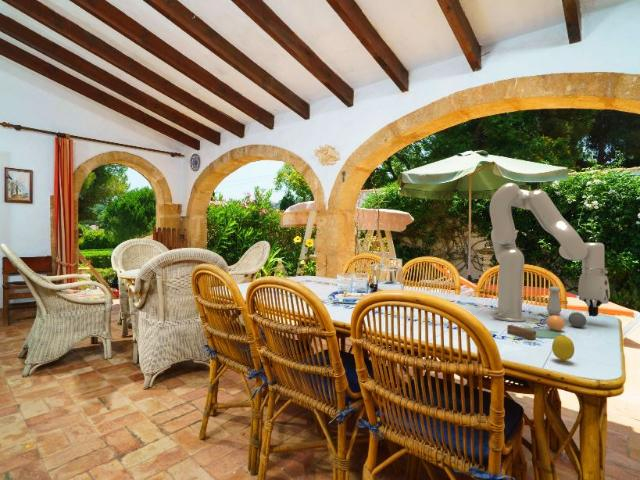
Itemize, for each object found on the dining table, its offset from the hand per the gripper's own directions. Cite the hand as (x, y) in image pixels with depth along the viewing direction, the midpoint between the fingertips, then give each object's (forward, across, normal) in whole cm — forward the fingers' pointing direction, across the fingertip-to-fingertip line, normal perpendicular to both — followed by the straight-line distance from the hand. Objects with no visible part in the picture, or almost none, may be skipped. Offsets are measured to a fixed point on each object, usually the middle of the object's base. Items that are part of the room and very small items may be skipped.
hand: (593, 315), depth 154 cm
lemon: (+3, -22, +57) cm, 61 cm away
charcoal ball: (+1, 0, +10) cm, 10 cm away
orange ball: (0, 0, +24) cm, 24 cm away
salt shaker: (+4, +20, -5) cm, 21 cm away
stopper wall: (+3, +1, +44) cm, 44 cm away
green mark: (+3, +1, +33) cm, 33 cm away
